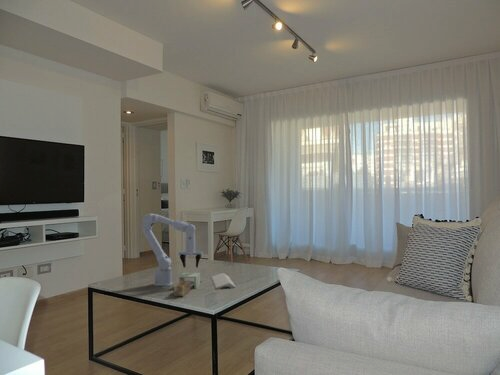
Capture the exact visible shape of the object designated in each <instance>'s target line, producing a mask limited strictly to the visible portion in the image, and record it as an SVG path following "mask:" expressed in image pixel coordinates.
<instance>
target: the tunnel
mask: <svg viewBox="0 0 500 375" xmlns="http://www.w3.org/2000/svg"><path fill="white" fill-rule="evenodd" d="M187 278H189V279H191V278H193V281H194V285H193V287H194V289H198V287H199V286H200V285H201V282H200V281H201V272H183V273H182V274H180V275H179V276H178V283H179V282H180V281H187V280H186V279H187Z"/></svg>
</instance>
